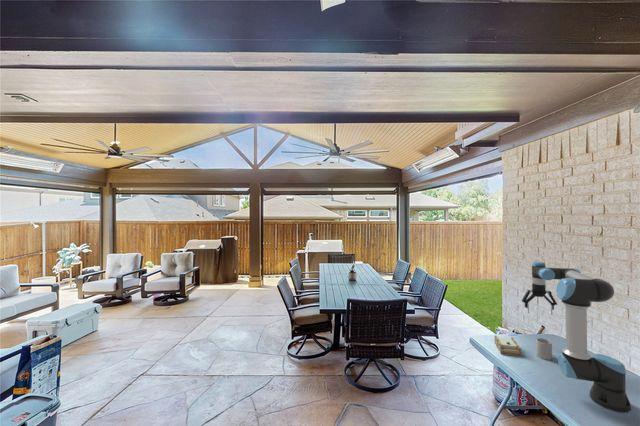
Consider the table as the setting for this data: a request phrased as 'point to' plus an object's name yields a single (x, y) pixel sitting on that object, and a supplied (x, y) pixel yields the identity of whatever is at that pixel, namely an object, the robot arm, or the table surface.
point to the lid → (507, 343)
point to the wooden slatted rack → (508, 350)
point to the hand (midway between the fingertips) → (539, 313)
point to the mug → (544, 348)
